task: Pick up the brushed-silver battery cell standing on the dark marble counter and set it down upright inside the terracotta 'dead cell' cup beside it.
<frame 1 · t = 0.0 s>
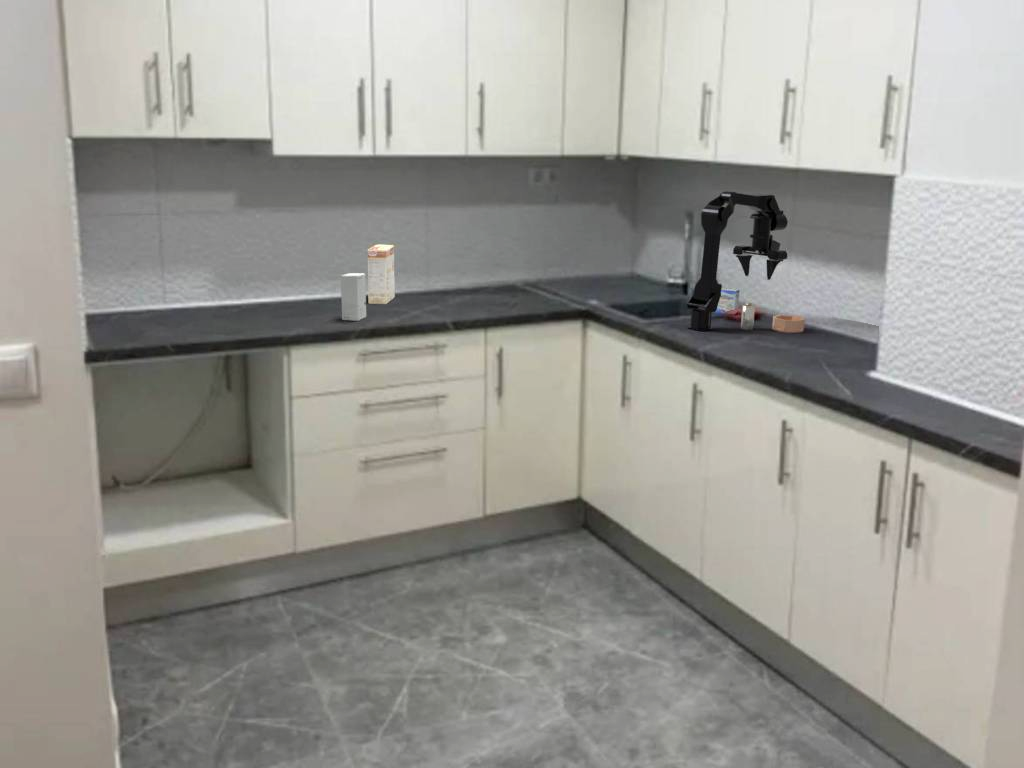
hand: (757, 277, 354), 15 cm above the worktop, fingers open, 9 cm apart
coffeecake box: (381, 301, 378), on the worktop
battery cell: (746, 328, 343), on the worktop
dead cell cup: (787, 329, 343), on the worktop
medicine box: (725, 314, 369), on the worktop
skincare box: (354, 319, 344), on the worktop
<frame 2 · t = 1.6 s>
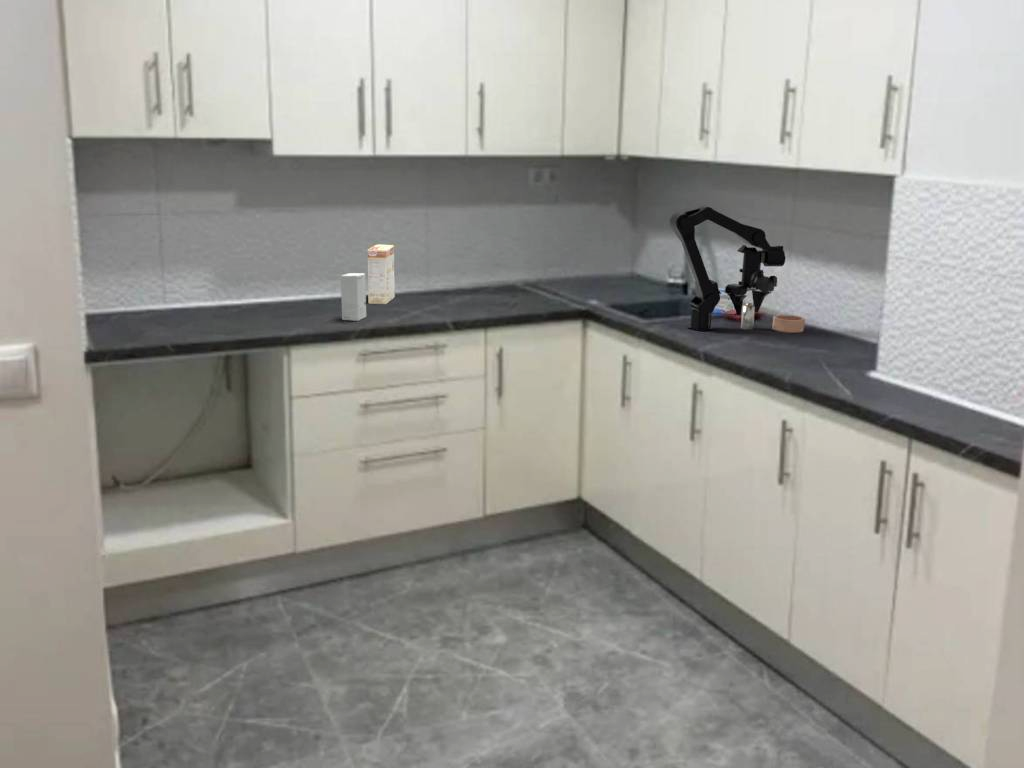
hand: (747, 313, 342), 5 cm above the worktop, fingers open, 9 cm apart
nothing on the worktop moved.
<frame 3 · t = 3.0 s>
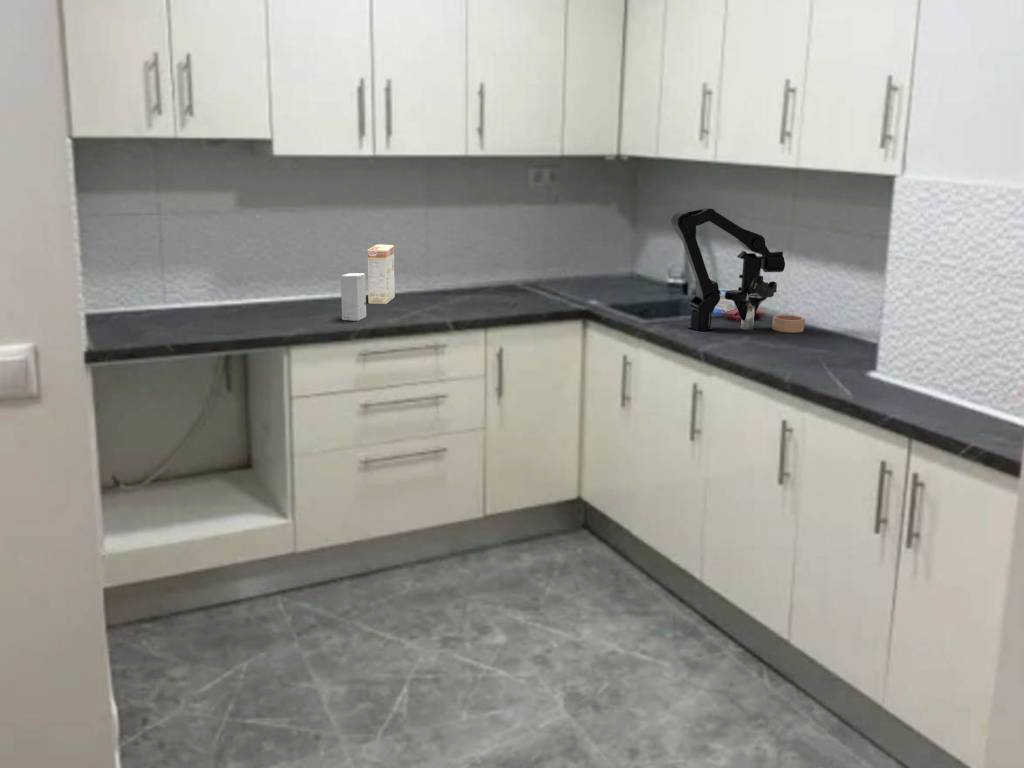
hand: (747, 319, 342), 3 cm above the worktop, fingers closed on battery cell, 4 cm apart
battery cell: (746, 328, 343), on the worktop, touching gripper
everything else where it was.
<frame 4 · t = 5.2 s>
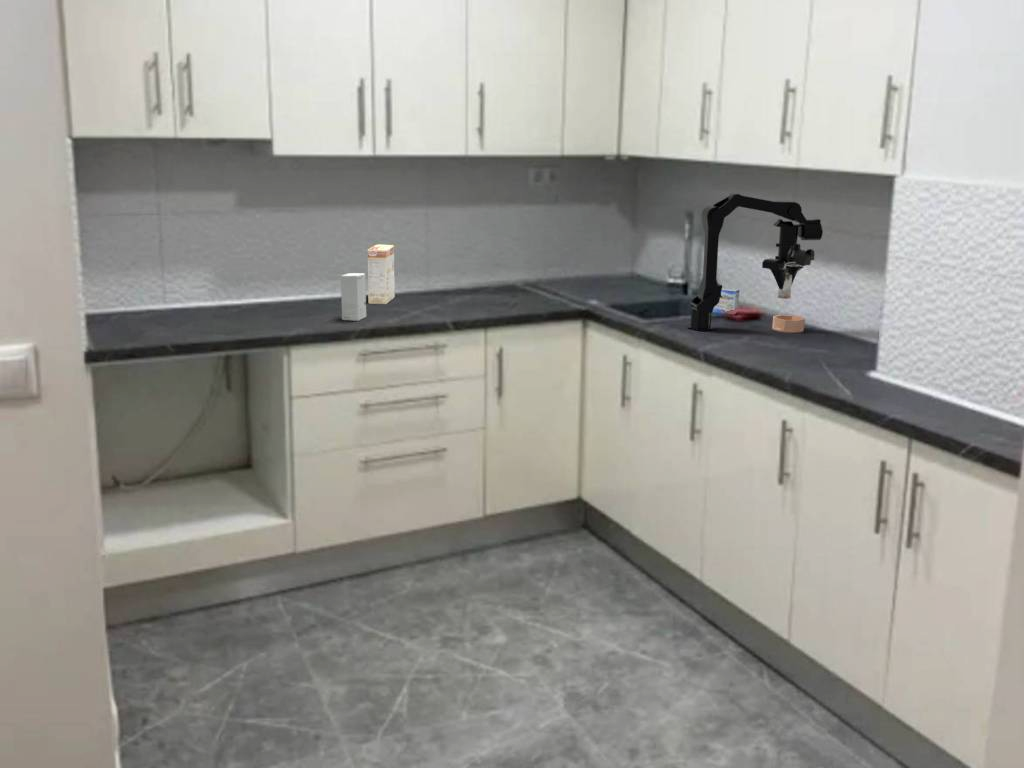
hand: (785, 288, 339), 14 cm above the worktop, fingers closed on battery cell, 4 cm apart
battery cell: (784, 297, 340), point 11 cm above the worktop, touching gripper
everything else where it was.
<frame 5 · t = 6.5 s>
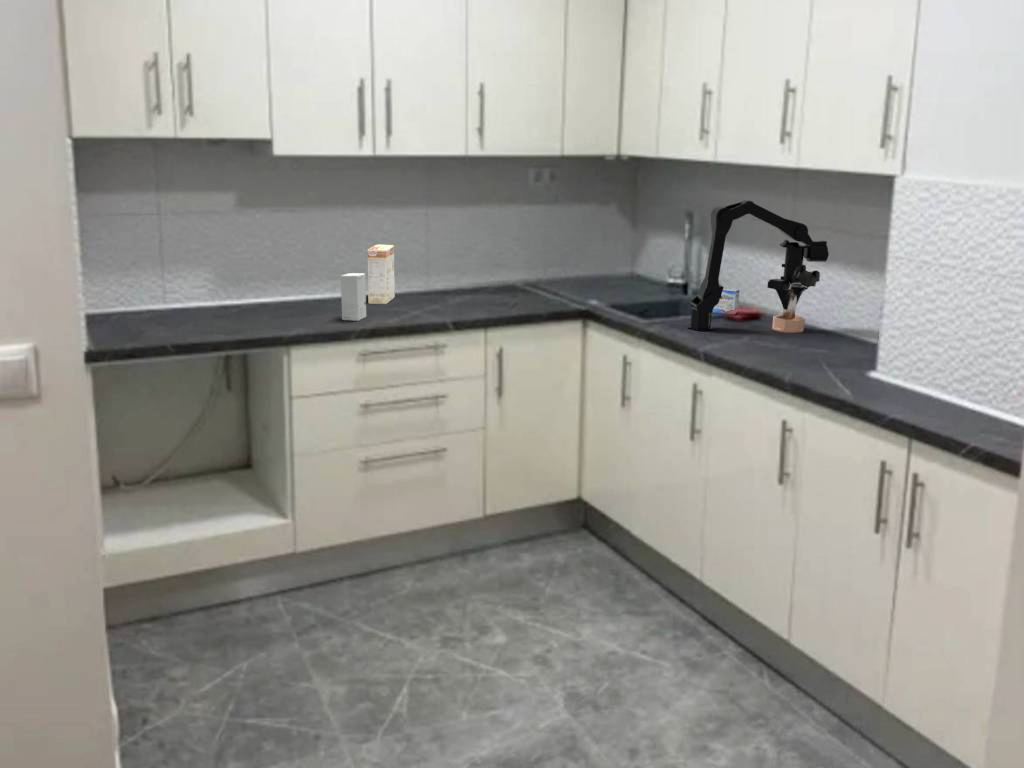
hand: (789, 308, 341), 7 cm above the worktop, fingers closed on battery cell, 4 cm apart
battery cell: (788, 317, 342), point 4 cm above the worktop, touching gripper
everything else where it was.
when the fingers open (5 cm above the worktop, at t = 7.6 s): battery cell stays where it is, resting on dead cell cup.
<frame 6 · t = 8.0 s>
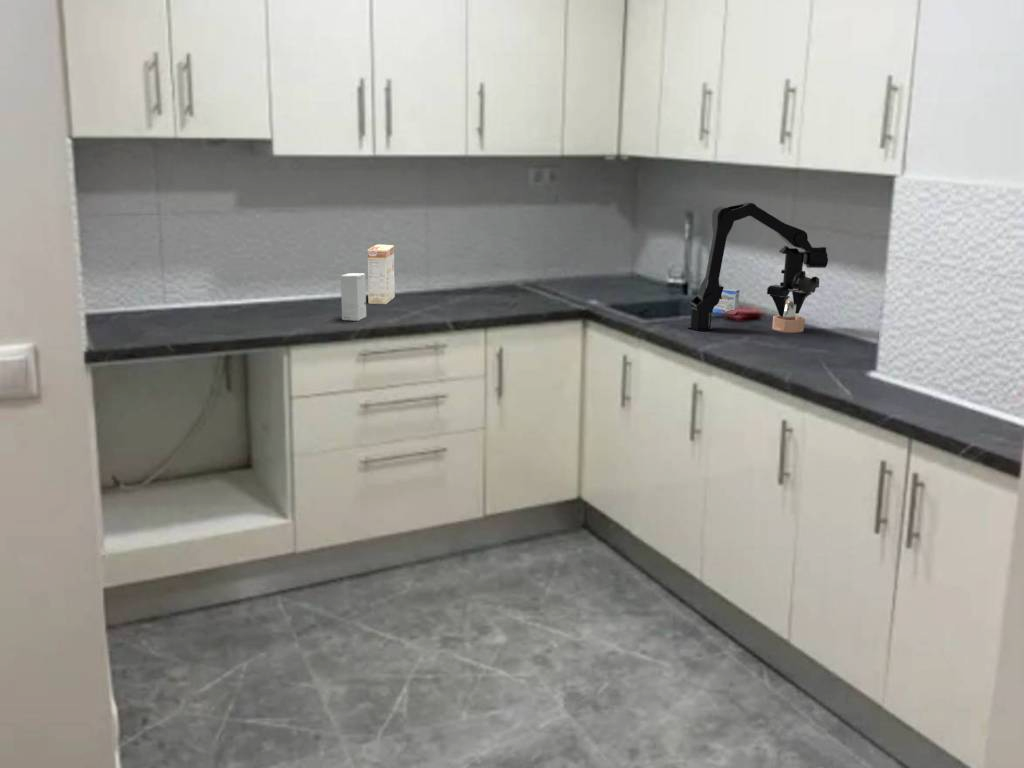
hand: (789, 314, 341), 5 cm above the worktop, fingers open, 8 cm apart
battery cell: (788, 326, 342), point 1 cm above the worktop, touching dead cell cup
everything else where it was.
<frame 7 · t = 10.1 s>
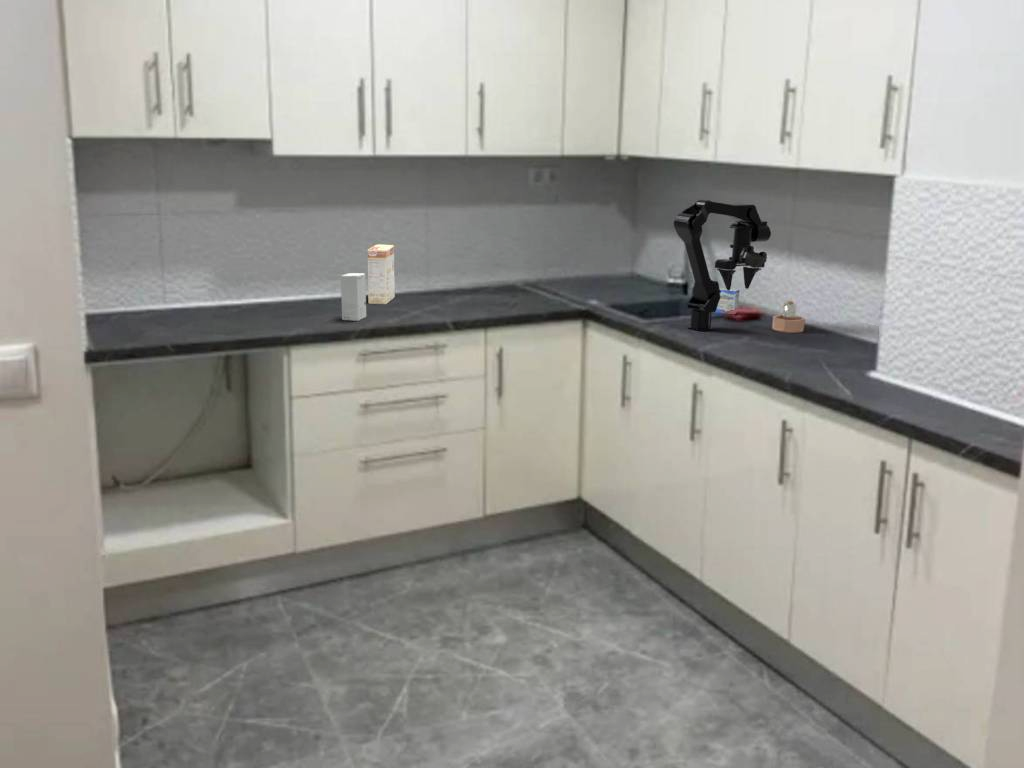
hand: (737, 289, 346), 12 cm above the worktop, fingers open, 9 cm apart
nothing on the worktop moved.
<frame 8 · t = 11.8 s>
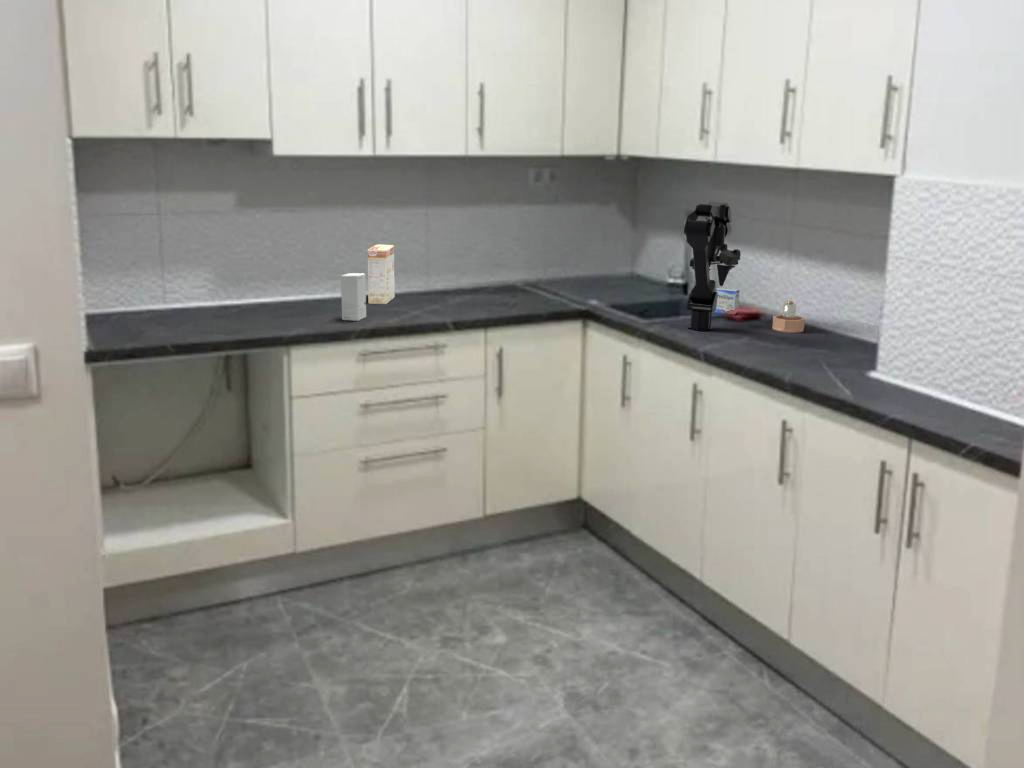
hand: (712, 287, 349), 12 cm above the worktop, fingers open, 9 cm apart
nothing on the worktop moved.
at the end: battery cell 0.0 cm off-centre on the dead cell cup, point 1.0 cm above the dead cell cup's base; battery cell tilted 0°; the gripper is holding nothing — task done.
